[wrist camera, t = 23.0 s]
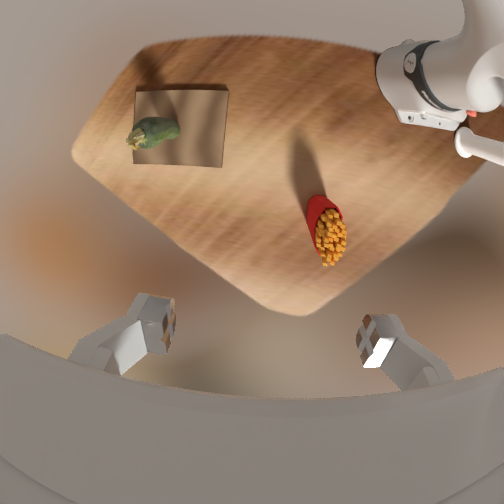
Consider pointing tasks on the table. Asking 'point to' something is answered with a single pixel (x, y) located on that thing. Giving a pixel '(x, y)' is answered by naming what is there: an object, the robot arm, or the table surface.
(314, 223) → the french fries
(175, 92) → the cutting board
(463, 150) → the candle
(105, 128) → the table surface
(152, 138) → the vegetable
